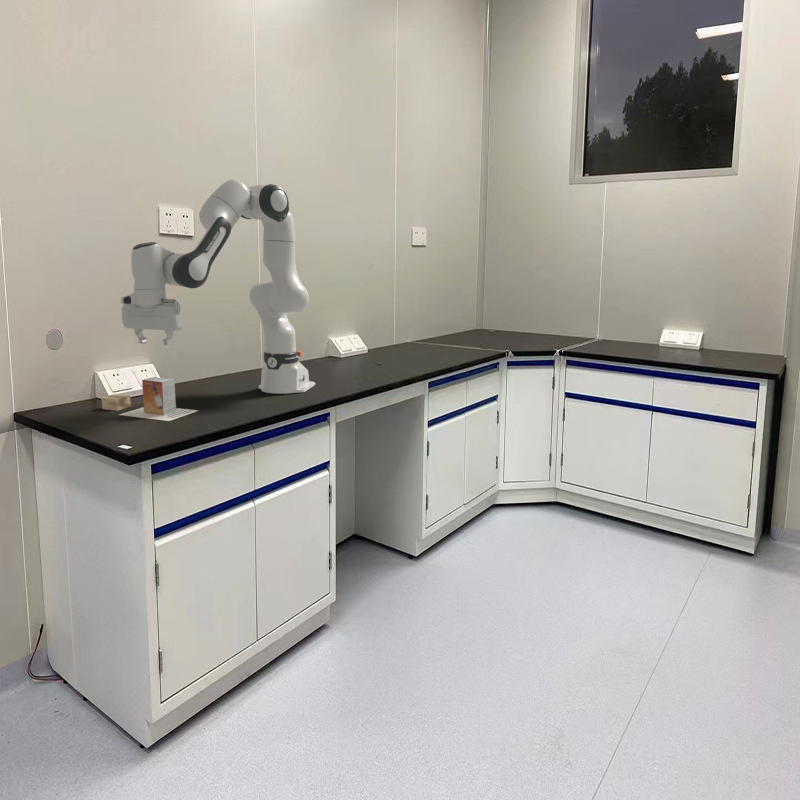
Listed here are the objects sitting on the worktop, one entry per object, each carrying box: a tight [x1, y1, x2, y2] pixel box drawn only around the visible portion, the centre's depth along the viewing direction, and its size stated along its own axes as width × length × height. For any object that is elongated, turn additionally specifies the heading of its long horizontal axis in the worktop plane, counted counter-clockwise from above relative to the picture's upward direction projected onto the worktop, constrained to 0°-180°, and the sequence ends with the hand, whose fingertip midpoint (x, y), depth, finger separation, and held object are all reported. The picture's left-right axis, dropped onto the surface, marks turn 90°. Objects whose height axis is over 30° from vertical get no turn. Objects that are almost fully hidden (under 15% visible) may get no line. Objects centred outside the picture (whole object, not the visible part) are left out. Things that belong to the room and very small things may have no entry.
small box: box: [141, 376, 177, 415], centre depth 203 cm, size 8×6×10 cm
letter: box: [118, 406, 199, 422], centre depth 204 cm, size 14×19×1 cm
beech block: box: [100, 393, 132, 411], centre depth 209 cm, size 6×6×4 cm
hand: (155, 344), depth 199 cm, fingers open, 8 cm apart
